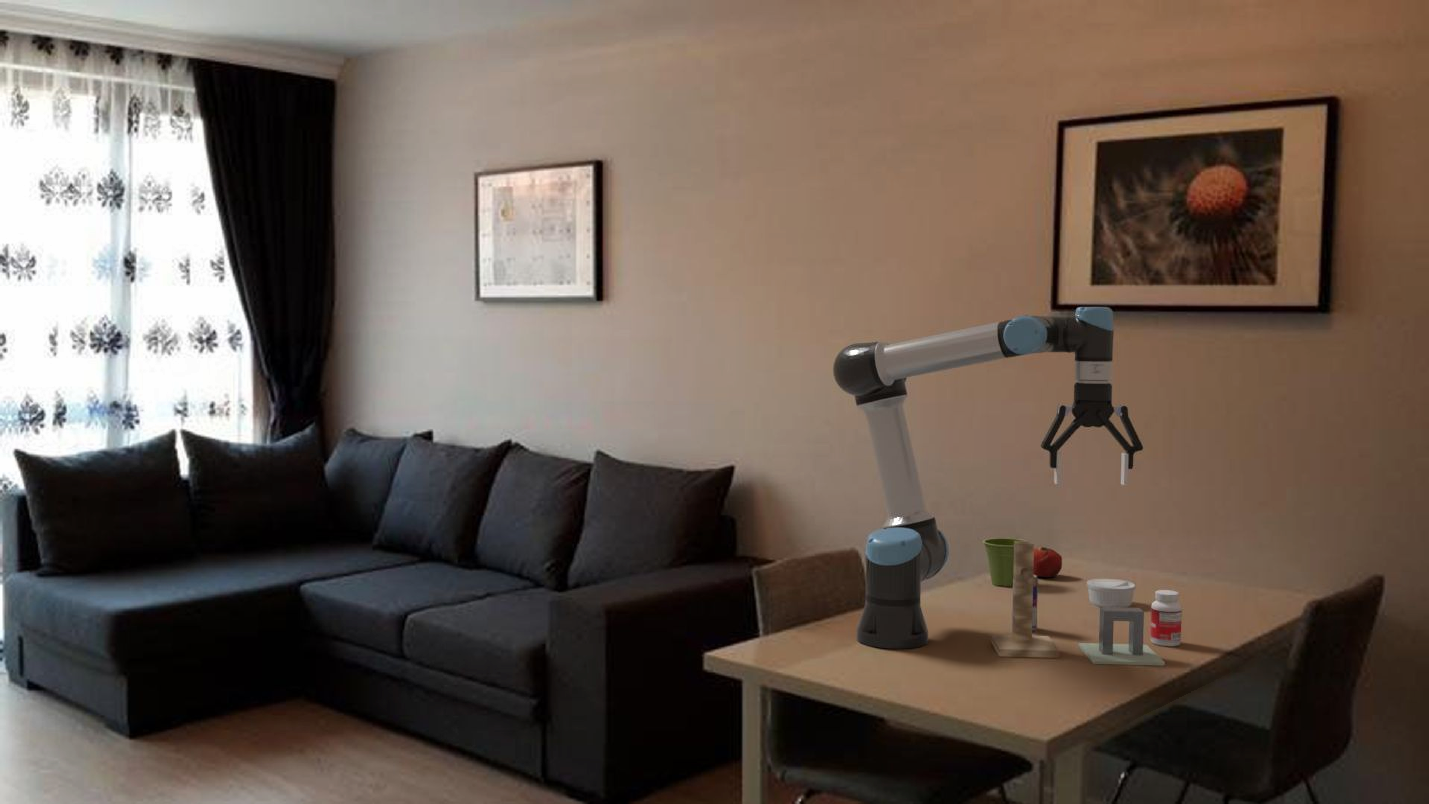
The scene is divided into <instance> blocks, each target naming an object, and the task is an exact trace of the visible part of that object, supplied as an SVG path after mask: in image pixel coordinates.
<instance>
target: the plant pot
mask: <svg viewBox="0 0 1429 804" xmlns="http://www.w3.org/2000/svg"><path fill="white" fill-rule="evenodd" d="M1014 541H1027V540H1026V539H1020V538H1012V537H1011V538H1010V537H993V538H987V539H983V541H982V543H983V544H984V546H985V547H984V548H985V552H986V555H987V560H988V568H989V574H990V575H989V576H990V580H991V584H992V585H994V586H996V585H1000V586H1004V587H1006V586H1011V587H1013V577H1014Z"/></svg>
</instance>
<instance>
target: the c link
mask: <svg viewBox="0 0 1429 804" xmlns="http://www.w3.org/2000/svg"><path fill="white" fill-rule="evenodd" d="M1144 620H1145V611H1144V610H1143V609H1141V608H1140V607H1127V608H1120V607H1099V625H1098V627H1099V629H1098V630H1099V631H1098V632H1099V633H1098V641H1099V642H1098V644H1099V651H1100V652H1101V653H1102V654H1103V655H1113V644H1114V622H1128V644H1129V650H1128V651H1129V652H1130V653H1131V654H1132V655H1143V645H1144V626H1145V625H1144V624H1145V623H1144V622H1145V621H1144Z"/></svg>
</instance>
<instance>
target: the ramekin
mask: <svg viewBox="0 0 1429 804" xmlns="http://www.w3.org/2000/svg"><path fill="white" fill-rule="evenodd" d="M1086 587H1087V590H1088V598H1089V599H1088V600H1089V602H1090V603H1091V604H1092V605H1093V606H1095V607H1099V608H1100V607H1120V608H1130V606H1131V605H1132V603H1133V598H1134V594H1135V593H1134V592H1135V591H1136V585H1135V583H1133V582H1131V581H1128V580H1123V579H1116V578H1115V579H1114V578H1094V579H1089V580H1087V581H1086Z"/></svg>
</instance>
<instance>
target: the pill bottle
mask: <svg viewBox="0 0 1429 804" xmlns="http://www.w3.org/2000/svg"><path fill="white" fill-rule="evenodd" d="M1154 595H1155V596H1154V597H1155V600H1154V601H1153V602H1152V604H1151V607H1150V612H1151V613H1150V642H1151V643H1152V644H1154V645H1157V646H1161V647H1170V648H1171V647H1177V646H1180V644H1181V643H1182V614H1183V609H1182V608H1183V607H1182V605H1181V604H1180V603H1179V602H1178V601H1179V597H1180V595H1179V592H1178V591H1175V590H1171V589H1159V590H1156V591H1155V594H1154Z"/></svg>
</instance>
